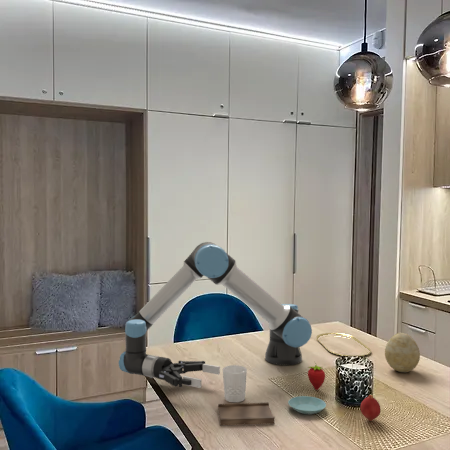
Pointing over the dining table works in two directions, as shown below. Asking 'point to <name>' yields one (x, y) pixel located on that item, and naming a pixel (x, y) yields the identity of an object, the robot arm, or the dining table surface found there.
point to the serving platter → (347, 336)
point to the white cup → (234, 383)
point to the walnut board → (245, 413)
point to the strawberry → (316, 376)
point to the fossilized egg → (402, 352)
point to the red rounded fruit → (370, 408)
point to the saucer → (307, 404)
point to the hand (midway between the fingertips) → (210, 376)
